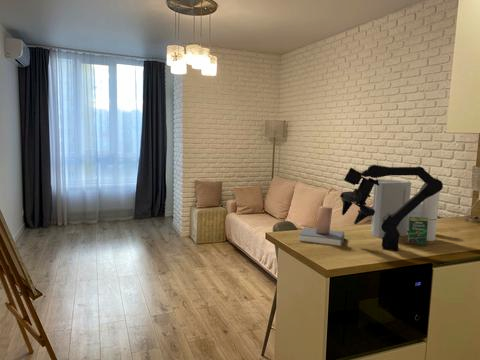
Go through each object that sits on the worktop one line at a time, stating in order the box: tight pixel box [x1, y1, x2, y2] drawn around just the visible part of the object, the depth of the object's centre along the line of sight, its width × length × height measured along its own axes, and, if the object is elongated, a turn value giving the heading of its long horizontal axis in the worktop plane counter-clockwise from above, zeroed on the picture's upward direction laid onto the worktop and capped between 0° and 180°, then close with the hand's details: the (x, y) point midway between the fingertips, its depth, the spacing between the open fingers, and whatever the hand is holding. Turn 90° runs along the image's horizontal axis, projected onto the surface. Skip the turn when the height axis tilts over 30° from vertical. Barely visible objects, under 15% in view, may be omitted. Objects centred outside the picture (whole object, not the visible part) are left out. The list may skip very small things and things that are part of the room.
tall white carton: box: [370, 178, 412, 239], centre depth 190 cm, size 19×15×28 cm
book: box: [298, 227, 345, 247], centre depth 175 cm, size 20×14×4 cm
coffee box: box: [407, 217, 428, 247], centre depth 172 cm, size 8×3×13 cm, turn 68°
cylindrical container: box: [421, 191, 441, 242], centre depth 180 cm, size 7×7×25 cm
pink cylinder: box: [315, 205, 333, 234], centre depth 175 cm, size 6×6×12 cm
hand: (348, 219), depth 169 cm, fingers open, 9 cm apart
